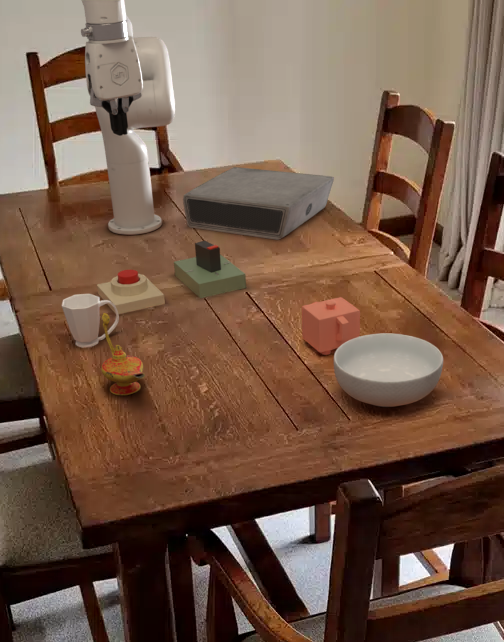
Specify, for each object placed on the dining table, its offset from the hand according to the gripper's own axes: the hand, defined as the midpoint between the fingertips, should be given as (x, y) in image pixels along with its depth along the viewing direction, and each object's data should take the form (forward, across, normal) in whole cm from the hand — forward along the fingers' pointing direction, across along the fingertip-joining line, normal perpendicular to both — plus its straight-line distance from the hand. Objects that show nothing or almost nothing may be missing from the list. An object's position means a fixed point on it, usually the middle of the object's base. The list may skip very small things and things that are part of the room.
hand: (120, 133), depth 188 cm
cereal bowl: (+27, +3, -78) cm, 82 cm away
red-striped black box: (+24, +7, -18) cm, 31 cm away
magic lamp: (+27, -29, -50) cm, 64 cm away
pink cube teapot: (+27, +7, -57) cm, 64 cm away
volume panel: (+27, +7, -18) cm, 34 cm away
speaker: (+27, +37, +8) cm, 46 cm away
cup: (+27, -24, -28) cm, 46 cm away
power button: (+23, -10, -16) cm, 30 cm away
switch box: (+27, -10, -16) cm, 33 cm away
